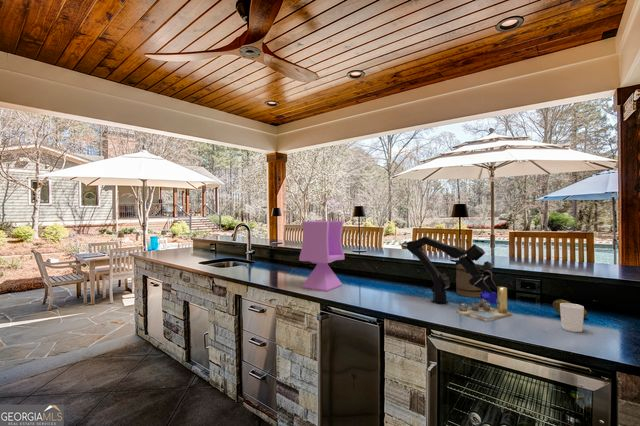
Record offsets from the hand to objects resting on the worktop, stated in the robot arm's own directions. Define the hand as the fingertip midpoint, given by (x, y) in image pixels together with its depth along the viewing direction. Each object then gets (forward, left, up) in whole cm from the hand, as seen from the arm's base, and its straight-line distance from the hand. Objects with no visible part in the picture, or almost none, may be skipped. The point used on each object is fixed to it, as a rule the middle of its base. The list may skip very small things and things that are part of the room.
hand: (494, 291), depth 154 cm
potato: (+21, +24, -11) cm, 34 cm away
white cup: (+29, +7, -11) cm, 32 cm away
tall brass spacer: (+3, +1, -10) cm, 10 cm away
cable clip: (-16, +19, -11) cm, 27 cm away
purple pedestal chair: (-92, -47, -11) cm, 103 cm away
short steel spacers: (-5, -5, -10) cm, 12 cm away
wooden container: (-30, +22, -11) cm, 39 cm away
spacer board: (-2, -6, -11) cm, 12 cm away
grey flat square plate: (+2, -11, -11) cm, 16 cm away
